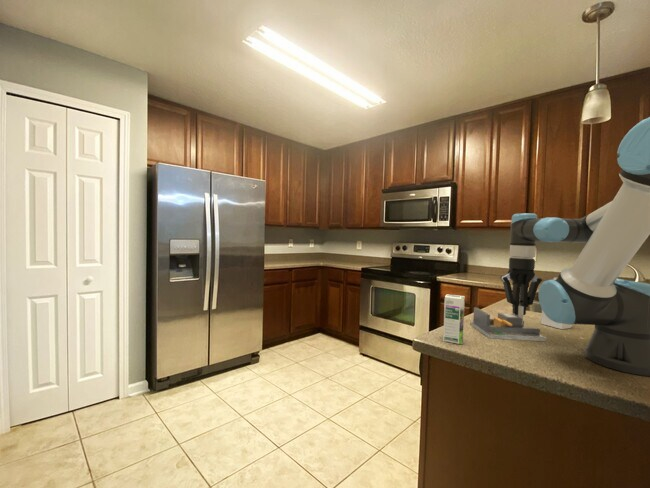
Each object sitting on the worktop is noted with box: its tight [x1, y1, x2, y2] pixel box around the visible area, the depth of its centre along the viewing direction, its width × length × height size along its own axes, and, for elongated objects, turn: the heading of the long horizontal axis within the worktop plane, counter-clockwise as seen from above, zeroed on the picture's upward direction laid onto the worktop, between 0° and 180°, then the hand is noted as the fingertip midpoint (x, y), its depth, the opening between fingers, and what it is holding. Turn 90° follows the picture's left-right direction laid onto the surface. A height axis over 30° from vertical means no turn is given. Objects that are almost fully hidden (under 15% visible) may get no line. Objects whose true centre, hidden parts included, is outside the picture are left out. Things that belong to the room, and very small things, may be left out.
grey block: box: [497, 312, 522, 327], centre depth 104 cm, size 6×5×5 cm
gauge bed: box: [469, 307, 547, 342], centre depth 104 cm, size 15×18×7 cm
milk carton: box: [541, 276, 573, 330], centre depth 113 cm, size 7×7×19 cm
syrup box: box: [442, 293, 466, 345], centre depth 94 cm, size 6×6×14 cm
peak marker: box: [493, 317, 512, 326], centre depth 101 cm, size 10×2×3 cm, turn 175°
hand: (518, 323), depth 104 cm, fingers closed
